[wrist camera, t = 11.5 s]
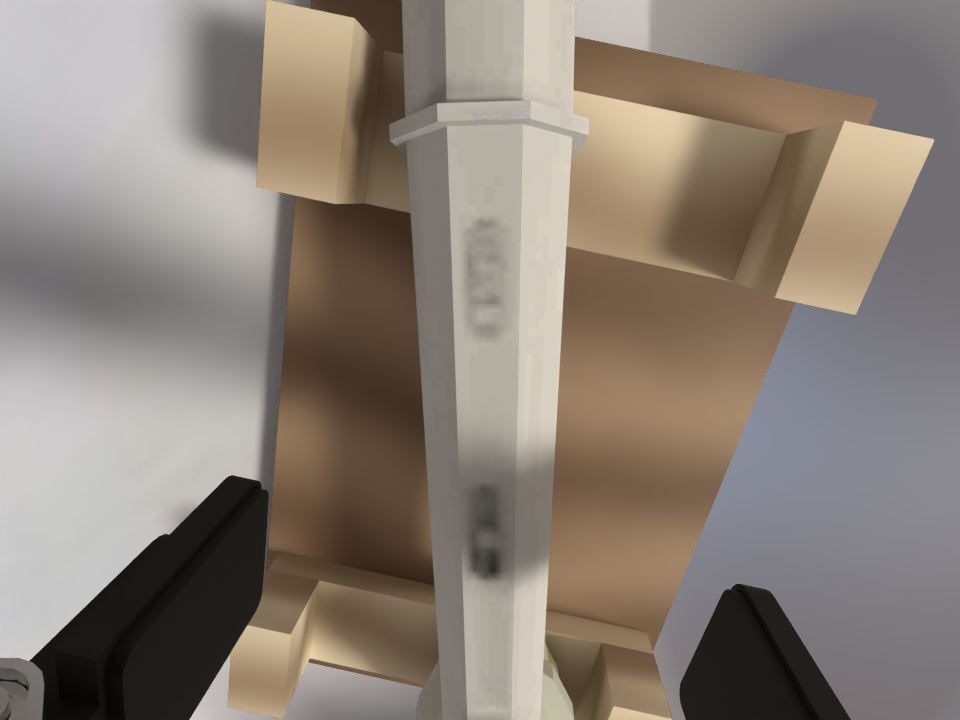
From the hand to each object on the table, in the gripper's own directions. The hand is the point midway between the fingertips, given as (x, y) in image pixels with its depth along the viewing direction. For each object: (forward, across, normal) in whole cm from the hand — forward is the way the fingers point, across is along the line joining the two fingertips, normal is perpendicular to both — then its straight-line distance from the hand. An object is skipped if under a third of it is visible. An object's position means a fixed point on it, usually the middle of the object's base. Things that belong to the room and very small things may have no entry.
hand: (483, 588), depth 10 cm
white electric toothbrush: (+7, 0, 0) cm, 7 cm away
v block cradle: (+9, 0, +1) cm, 9 cm away
